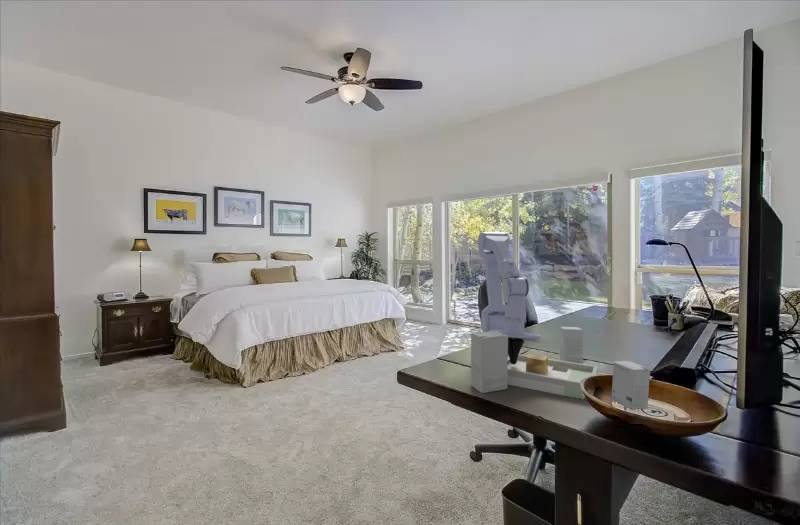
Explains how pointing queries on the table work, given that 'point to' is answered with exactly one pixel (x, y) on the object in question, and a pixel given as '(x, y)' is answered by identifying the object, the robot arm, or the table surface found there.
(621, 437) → the table surface
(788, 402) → the table surface
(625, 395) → the skincare box
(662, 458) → the table surface
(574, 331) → the skincare box
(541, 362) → the ochre block
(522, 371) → the trap box
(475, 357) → the skincare box
